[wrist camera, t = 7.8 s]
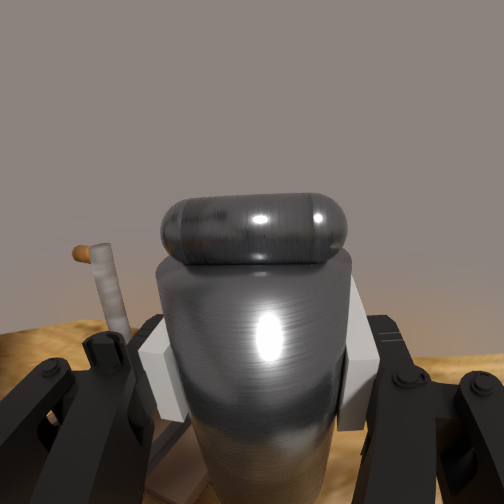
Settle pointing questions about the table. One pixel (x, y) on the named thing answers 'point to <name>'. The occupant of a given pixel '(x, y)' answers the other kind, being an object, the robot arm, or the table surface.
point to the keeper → (166, 431)
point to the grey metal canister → (258, 336)
